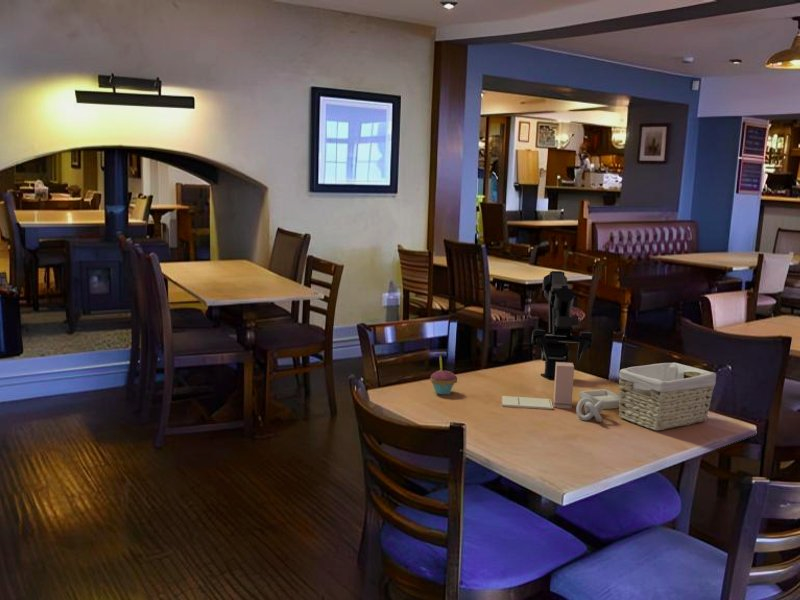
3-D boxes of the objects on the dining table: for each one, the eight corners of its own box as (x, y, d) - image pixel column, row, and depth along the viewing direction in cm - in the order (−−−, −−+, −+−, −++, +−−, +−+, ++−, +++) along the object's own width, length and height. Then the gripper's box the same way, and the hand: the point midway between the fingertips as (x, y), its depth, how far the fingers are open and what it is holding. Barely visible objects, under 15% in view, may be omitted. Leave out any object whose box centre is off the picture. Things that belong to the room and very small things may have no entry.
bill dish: (579, 397, 224) (579, 391, 223) (606, 395, 227) (606, 389, 227) (601, 409, 212) (602, 402, 212) (629, 406, 216) (630, 400, 215)
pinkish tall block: (553, 403, 217) (555, 361, 215) (569, 404, 217) (572, 362, 215) (554, 407, 213) (556, 365, 211) (571, 408, 212) (574, 366, 210)
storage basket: (668, 406, 217) (672, 360, 214) (715, 422, 203) (720, 372, 200) (612, 417, 205) (616, 368, 202) (658, 435, 191) (662, 382, 189)
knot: (610, 424, 199) (611, 404, 198) (582, 424, 198) (584, 404, 197) (600, 416, 206) (601, 396, 205) (573, 416, 205) (575, 396, 204)
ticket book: (502, 397, 221) (502, 395, 221) (550, 400, 220) (550, 398, 219) (502, 406, 213) (502, 404, 212) (553, 409, 211) (553, 407, 211)
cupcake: (424, 391, 226) (425, 355, 224) (442, 387, 231) (444, 351, 230) (443, 398, 219) (444, 360, 218) (462, 393, 225) (463, 356, 223)
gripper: (534, 304, 223) (534, 346, 214) (595, 307, 220) (597, 349, 211) (531, 324, 232) (531, 365, 222) (589, 327, 229) (592, 368, 220)
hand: (562, 361), depth 219 cm, fingers open, 9 cm apart
